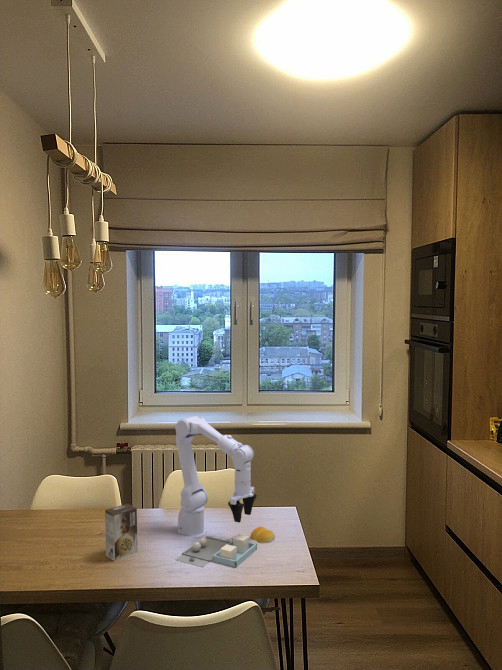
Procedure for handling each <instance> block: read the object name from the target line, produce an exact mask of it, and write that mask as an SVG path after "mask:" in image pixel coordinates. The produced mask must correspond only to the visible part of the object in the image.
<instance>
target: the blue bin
mask: <svg viewBox="0 0 502 670" xmlns="http://www.w3.org/2000/svg"><path fill="white" fill-rule="evenodd" d="M228 545H231V546H233V539H232V540H231V542H230V543H228ZM257 550H258V544H257V543H255V542H250V541H249V549H248V550H247V551H246V552H245V553H244V554H242V553H238V552H237V559H236V560H231V559H227V558H223V557H220V550H219V551H218V552H217V553H215V554H214V555H213V556H212V563H217V564H221V565H223V566H226V567H230V568H231V567H232V568H235V569H237V567H238V566H240V565H241V564H242V563H243V562H244V561H246V560H247V559H249V557H251V556H252V555H253V554H254V553H255V552H256V551H257Z"/></svg>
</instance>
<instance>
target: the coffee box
mask: <svg viewBox="0 0 502 670" xmlns="http://www.w3.org/2000/svg"><path fill="white" fill-rule="evenodd" d="M104 511H105V515H104V516H105V517H104V518H105V557H107V558H109V559H110V560H112V561H113V562H117V561H118V560H121V559H123V558H125V557H128V556H131V555H134V554H136V553H139V552H138V551H139V550H138V547H139V546H138V512H137V511H138V509H137V507H135V506H133V505H131V504H129V503H125V504H121V505H119V506H115V507H112V508H111V507H110V508H108V509H105V510H104Z"/></svg>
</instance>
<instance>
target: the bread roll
mask: <svg viewBox="0 0 502 670" xmlns="http://www.w3.org/2000/svg"><path fill="white" fill-rule="evenodd" d="M250 537H251V539H252V540H253V541H255V542H257V543H261V544H267V543H272V542H273V541H275V538H276V536H275V533H274V532H273V531H272V530H270V529H267V528H266V527H263V526H257V527H256V528H254V529H253V530H252V531H251V532H250Z"/></svg>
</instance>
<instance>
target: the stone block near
mask: <svg viewBox="0 0 502 670" xmlns="http://www.w3.org/2000/svg"><path fill="white" fill-rule="evenodd" d="M220 557H223V558H227V559H231V560H236V559H237V547H235V546H231V545H228V544H226V545H225V546H223V547H222V548H221V549H220Z"/></svg>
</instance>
